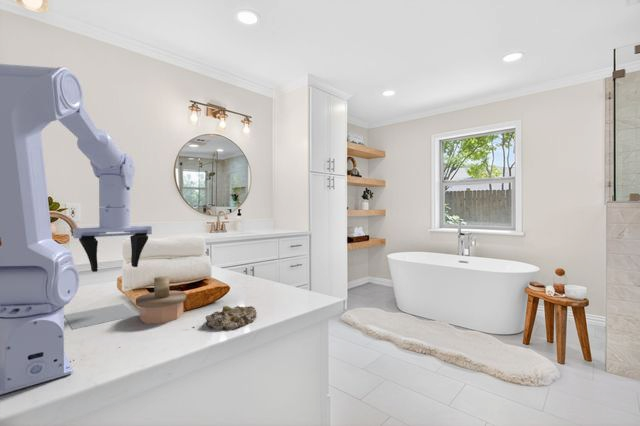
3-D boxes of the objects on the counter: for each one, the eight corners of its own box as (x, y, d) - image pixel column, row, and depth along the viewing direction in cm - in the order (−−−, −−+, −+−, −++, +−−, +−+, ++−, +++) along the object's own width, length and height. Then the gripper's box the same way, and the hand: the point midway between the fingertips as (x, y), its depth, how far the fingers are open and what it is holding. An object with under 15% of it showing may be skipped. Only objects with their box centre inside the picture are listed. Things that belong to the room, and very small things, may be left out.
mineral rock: (216, 324, 59) (202, 302, 65) (212, 344, 60) (199, 321, 66) (267, 314, 66) (250, 295, 71) (263, 332, 66) (247, 312, 72)
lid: (194, 300, 67) (194, 277, 67) (145, 311, 60) (145, 286, 60) (174, 291, 74) (174, 271, 74) (128, 300, 67) (128, 278, 67)
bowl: (187, 319, 67) (187, 300, 67) (149, 329, 62) (148, 308, 62) (173, 310, 73) (173, 293, 72) (136, 319, 67) (136, 300, 67)
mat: (137, 317, 68) (137, 315, 68) (72, 331, 60) (72, 329, 60) (122, 306, 75) (122, 303, 75) (63, 317, 68) (63, 315, 68)
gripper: (144, 207, 78) (144, 262, 78) (70, 207, 68) (71, 270, 68) (154, 207, 73) (155, 266, 73) (76, 207, 63) (77, 275, 63)
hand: (115, 268), depth 70 cm, fingers open, 7 cm apart
